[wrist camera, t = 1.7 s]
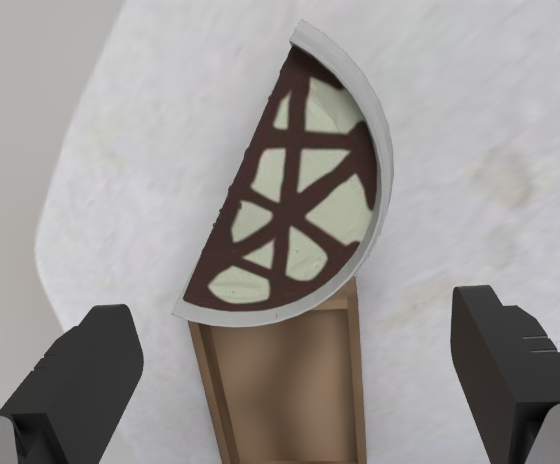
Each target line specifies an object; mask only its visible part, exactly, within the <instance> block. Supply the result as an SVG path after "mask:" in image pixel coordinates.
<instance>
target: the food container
mask: <svg viewBox="0 0 560 464" xmlns="http://www.w3.org/2000/svg"><path fill="white" fill-rule="evenodd" d="M289 41H290V43H291V46H292V48H291V50H290V51H289V54H288V57H287V59H286V61H285V63H284V64H283V66H282V69H281V70H280V76H279V78H278V80H277V83H276V85H275V87H274V89H273V92H272V94H271V95H270V96H269V98H268V100H269V101H268V103H267V105H266V107H265V110H264V112H263V115H262V117H261V119H260V121H259V124H258V126H257V129H256V131H255V133H254V136H253V138H252V141H251V143H250V145H249V148H247V149H246V151H245V154H244V159H243V161H242V164H241V166H240V168H239V171H238V173H237V175H236V177H235V179H234V182H233V184H232V185H231V186H230V187H229V189H228V196H227V198H226V200H225V202H224V205H223V207H222V209H220V210H219V212H220V214H219V216H218V218H217V220H216V223H214V224H213V229H212V231H211V233H210V236H209V238H208V240H207V242H206V245H205V247H204V249H203V250H202V253H201V255H200V257H199V259H198V261H197V263H196V265H195V267H194V269H193V271H192V273H191V275H190V277H189V279H188V281H187V283H186V285H185V287H184V289H183V291H182V293H181V295H180V297H179V299H178V301H177V303H176V305H175V307H174V309H173V311H172V313H171V314H172V315H175V316H178V317H181V318H183V319H186V320H189V321H193V322H198V323H202V324H207V325H212V326H223V327H253V326H260V325H266V324H271V323H277V322H280V321H283V320H286V319H289V318H292V317H295V316H298V315H300V314H302V313H304V312H306V311H308V310H310V309H312V308H314V307H316V306H317V305H319V304H320V303H322V302H323V301H324V300H326V299H327V298H329V297H330V296H332V295H333V294H334V293H335V292H336V291H337V290H339V289H340V288H341V287H342V286H343V285H344V284H345V283H346V282H347V281H348V280H349V279H350V278H351V277H352V276H353V275H354V274H355V273H356V272H357V271H358V269H359V268H360V267H361V265H362V264H363V263H364V261H365V260H366V259H367V257H368V256H369V254H370V252H371V250H372V248H373V247H374V245H375V243H376V241H377V239H378V237H379V235H380V232H381V229H382V226H383V223H384V220H385V217H386V214H387V210H388V206H389V202H390V197H391V191H392V184H393V177H394V166H393V147H392V142H391V136H390V131H389V126H388V122H387V120H386V117H385V114H384V112H383V109H382V106H381V104H380V101H379V99H378V97H377V95H376V93H375V92H374V90H373V88H372V86H371V85H370V83H369V81H368V79H367V78H366V76H365V74H364V73H363V72H362V71H361V69H360V68H359V67H358V66H357V65H356V63H355V62H354V61H353V60H352V59H351V57H350V56H349V55H348V54H347V52H346V51H344V50H343V49H342V48H341V47H340V46H339V45H338V44H336V43H335V42H334V41H333V40H332V39H331V38H329V37H328V36H327V35H326V34H325V33H324V32H322V31H320V30H319V29H317V28H316V27H314V26H312V25H311V24H309V23H308V22H306V21H304V20H303V19H301V20H300V21H299V23H298V25H297V26H296V28H295V30H294V32H293V35H292V36H291V37H290V39H289Z"/></svg>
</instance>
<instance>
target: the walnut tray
mask: <svg viewBox="0 0 560 464" xmlns="http://www.w3.org/2000/svg"><path fill="white" fill-rule="evenodd" d="M188 324H189V328H190V332H191V336H192V341H193V345H194V349H195V353H196V357H197V361H198V365H199V369H200V373H201V378H202V382H203V386H204V390H205V394H206V398H207V402H208V406H209V410H210V414H211V419H212V423H213V427H214V431H215V435H216V439H217V443H218V447H219V451H220V455H221V460H222V464H367V458H366V440H365V422H364V404H363V386H362V368H361V349H360V331H359V313H358V297H357V288H356V279H355V277H351V278H350V279H349V280H348V281H347V282H346V283H345V284H344V285H343V286H342V287H341V288H340V289H339V290H337V291H336V292H335V293H334V294H333V295H332V296H330V297H329V298H327V299H326V300H324V301H323V302H322V303H320V304H319V305H317V306H316V307H314V308H312V309H310V310H308V311H306V312H304V313H302V314H300V315H298V316H295V317H292V318H289V319H286V320H283V321H280V322H277V323H271V324H266V325H260V326H253V327H223V326H212V325H207V324H202V323H198V322H193V321H189V320H188Z"/></svg>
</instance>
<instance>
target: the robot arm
mask: <svg viewBox="0 0 560 464" xmlns="http://www.w3.org/2000/svg"><path fill="white" fill-rule="evenodd" d="M450 343H451V354H452V360H453V364H454V367H455V370H456V373H457V375H458V378H459V381H460V383H461V386H462V389H463V391H464V394H465V396H466V399H467V402H468V404H469V407H470V410H471V412H472V415H473V418H474V420H475V423H476V426H477V428H478V431H479V433H480V436H481V439H482V441H483V444H484V447H485V449H486V452H487V455H488V457H489V460H490V463H491V464H560V352H557V348H556V347H555V345H554V344H553V342H552V341H551V339H550V338H549V339H548V336H547V334H546V332H545V331H544V329H543V328H542V327H541V325H540V324H539V322H538V321H537V320H536V318H534V317H533V316H531V315H530V314H528V313H527V312H525V311H524V310H522V309H521V308H520V307H518V306H517V305H515V306H503V305H502V303H501V302H500V300H499V299H498V297H497V295H496V294H495V292H494V291H493V289H492V288H491V286H490V285H479V286H460V287H455V288H454V290H453V299H452V319H451V339H450ZM143 364H144V358H143V352H142V348H141V345H140V342H139V338H138V335H137V332H136V328H135V325H134V322H133V318H132V315H131V312H130V310H129V308H128V306H127V305H125V304H116V305H98V306H94V307H93V308H92V309H91V310H90V311H89V312H88V314H87V315H86V316H85V318H84V319H83V320H82V322H81V323H80V324H79V325H78V326H74V327H73V328H72V329H70V330H69V331H67V332H66V333H65V334H63V335H62V336H61V337H59V338H58V339H57V340H56V341H55V342H54V343H53V344H52V346H51V347H50V348H49V349H48V351H47V352H46V353H45V354H44V358H42V359H40V361H39V362H38V363H37V365H36V366H35V367H34V371H31V372H30V373H29V375H28V376H27V377H26V378H25V379H24V381H23V382H22V383H21V384H20V386H19V387H18V388H17V390H16V391H15V392H14V393H13V394H12V396H11V397H10V398H9V399H8V401H7V402H6V403H5V404H4V406H3V407H2V408H1V409H0V464H99V462H100V459H101V458H102V455H103V453H104V451H105V449H106V447H107V445H108V443H109V441H110V439H111V437H112V435H113V433H114V431H115V429H116V427H117V425H118V423H119V421H120V419H121V417H122V415H123V413H124V411H125V408H126V406H127V404H128V402H129V400H130V398H131V396H132V394H133V392H134V390H135V388H136V386H137V384H138V382H139V380H140V378H141V375H142V371H143Z"/></svg>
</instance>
